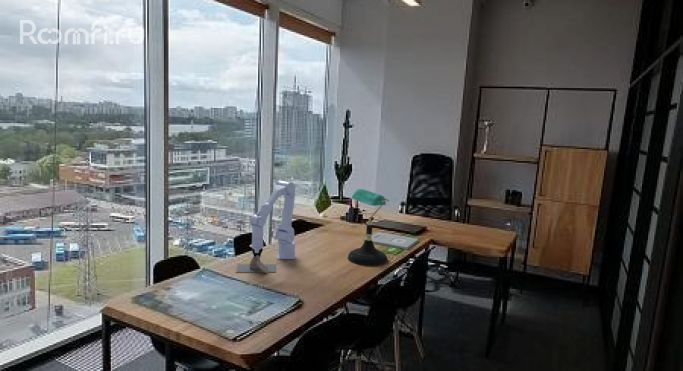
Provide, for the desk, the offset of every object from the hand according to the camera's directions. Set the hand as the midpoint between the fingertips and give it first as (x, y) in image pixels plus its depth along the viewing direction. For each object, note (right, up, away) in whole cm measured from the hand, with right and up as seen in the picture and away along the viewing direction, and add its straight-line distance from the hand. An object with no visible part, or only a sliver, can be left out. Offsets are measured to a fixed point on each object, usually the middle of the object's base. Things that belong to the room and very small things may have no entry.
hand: (257, 262), depth 231 cm
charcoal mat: (+1, -3, -5) cm, 5 cm away
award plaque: (+79, +2, +61) cm, 100 cm away
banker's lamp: (+60, -2, +20) cm, 64 cm away
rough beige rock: (+2, -3, -7) cm, 8 cm away
